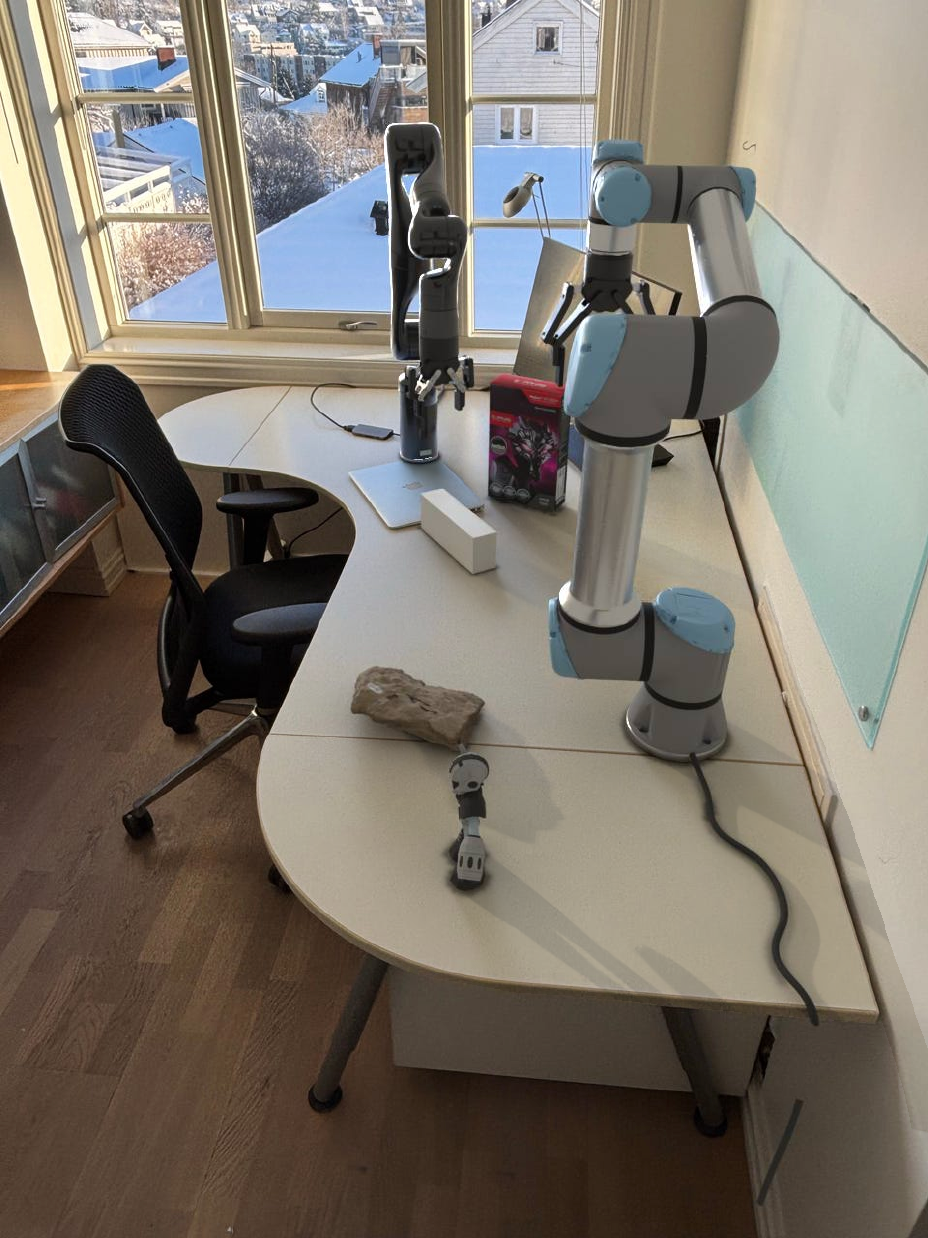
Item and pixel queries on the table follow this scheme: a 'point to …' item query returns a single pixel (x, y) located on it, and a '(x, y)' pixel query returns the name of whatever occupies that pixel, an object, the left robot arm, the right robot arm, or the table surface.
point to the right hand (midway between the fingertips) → (597, 382)
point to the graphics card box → (528, 442)
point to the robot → (469, 818)
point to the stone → (416, 706)
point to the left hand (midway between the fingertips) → (439, 413)
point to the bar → (458, 530)
